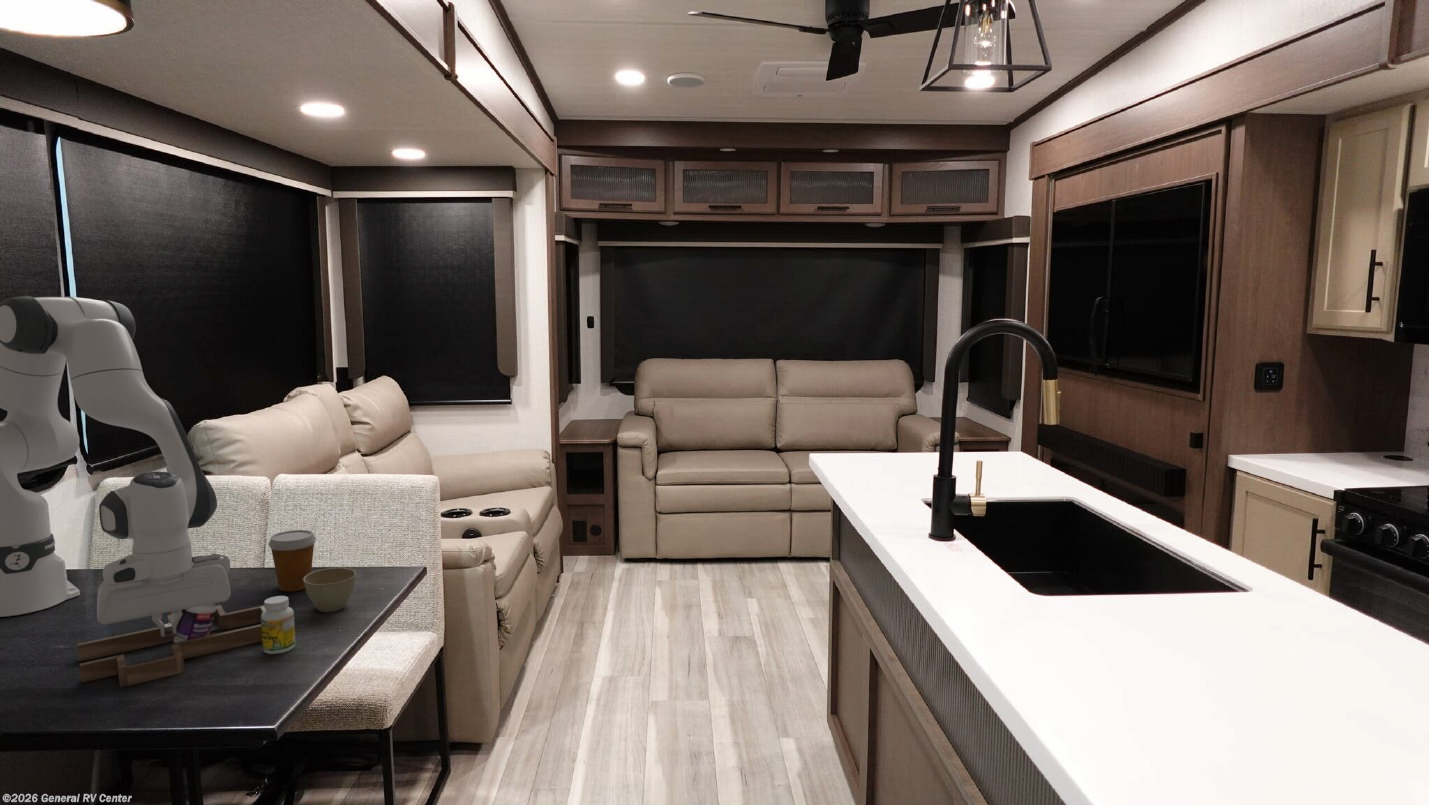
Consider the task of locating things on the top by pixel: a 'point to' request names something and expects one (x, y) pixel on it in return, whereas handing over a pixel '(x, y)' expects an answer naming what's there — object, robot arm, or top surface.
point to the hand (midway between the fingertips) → (168, 634)
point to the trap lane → (153, 637)
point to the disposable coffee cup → (292, 557)
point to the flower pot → (330, 588)
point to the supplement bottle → (277, 625)
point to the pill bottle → (195, 623)
